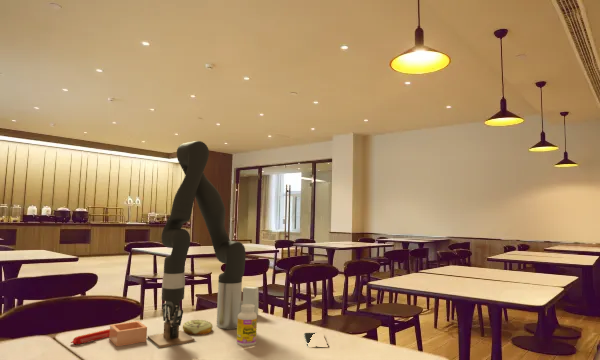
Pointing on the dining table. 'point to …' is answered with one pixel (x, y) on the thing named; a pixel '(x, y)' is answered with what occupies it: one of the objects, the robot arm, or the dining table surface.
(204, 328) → the decorated donut
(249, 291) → the skincare box
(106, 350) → the dining table surface
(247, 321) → the supplement bottle
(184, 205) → the robot arm
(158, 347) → the mat
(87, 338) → the candy bar
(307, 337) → the smartphone
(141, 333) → the open box
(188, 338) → the lid
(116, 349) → the dining table surface
